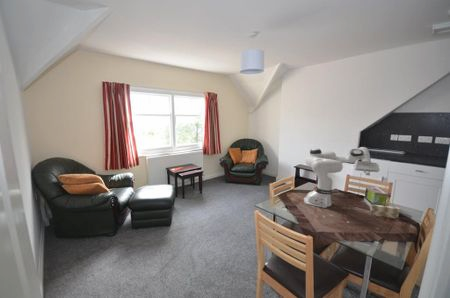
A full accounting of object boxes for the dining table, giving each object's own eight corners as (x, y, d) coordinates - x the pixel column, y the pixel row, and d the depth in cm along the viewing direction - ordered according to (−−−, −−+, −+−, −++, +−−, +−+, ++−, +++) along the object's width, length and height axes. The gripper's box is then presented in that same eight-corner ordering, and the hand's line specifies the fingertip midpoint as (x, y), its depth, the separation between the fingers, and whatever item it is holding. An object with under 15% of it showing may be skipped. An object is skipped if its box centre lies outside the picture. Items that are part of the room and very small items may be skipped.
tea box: (385, 210, 168) (388, 193, 165) (371, 209, 170) (374, 192, 167) (375, 202, 182) (378, 186, 179) (363, 201, 184) (365, 185, 181)
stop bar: (370, 215, 161) (372, 205, 159) (369, 213, 163) (370, 204, 162) (397, 218, 156) (399, 209, 154) (395, 216, 159) (397, 207, 157)
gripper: (376, 164, 199) (379, 177, 192) (352, 162, 204) (354, 175, 197) (379, 161, 194) (382, 174, 187) (355, 159, 199) (357, 172, 192)
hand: (367, 175), depth 192 cm, fingers closed
